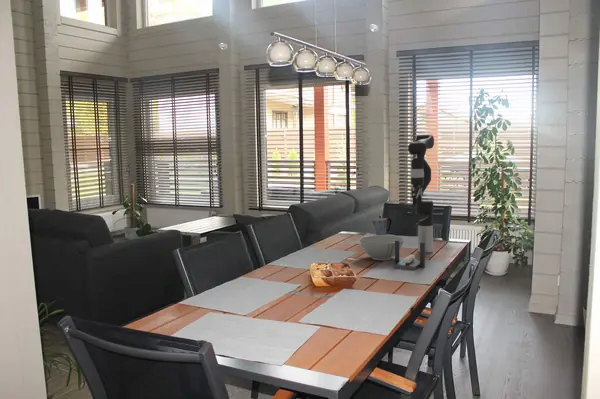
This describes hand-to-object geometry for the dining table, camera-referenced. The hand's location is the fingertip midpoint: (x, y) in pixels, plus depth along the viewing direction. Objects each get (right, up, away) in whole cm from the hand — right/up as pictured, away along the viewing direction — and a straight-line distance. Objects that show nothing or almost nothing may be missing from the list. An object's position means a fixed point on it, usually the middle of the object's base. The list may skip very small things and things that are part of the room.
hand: (417, 204), depth 303 cm
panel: (-6, -35, -8) cm, 37 cm away
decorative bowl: (-19, -34, +13) cm, 41 cm away
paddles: (-6, -32, -9) cm, 34 cm away
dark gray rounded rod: (-13, -35, -4) cm, 38 cm away
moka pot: (-12, -29, +58) cm, 66 cm away
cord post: (0, -36, -12) cm, 38 cm away
